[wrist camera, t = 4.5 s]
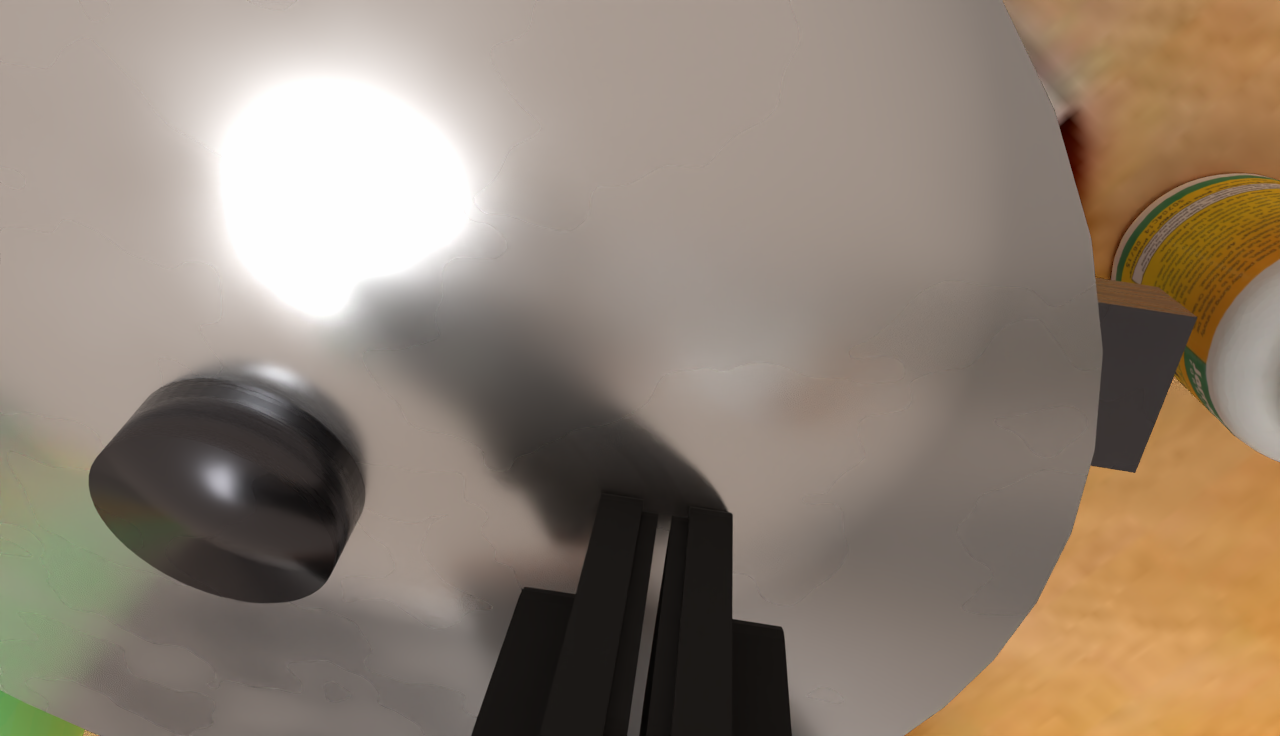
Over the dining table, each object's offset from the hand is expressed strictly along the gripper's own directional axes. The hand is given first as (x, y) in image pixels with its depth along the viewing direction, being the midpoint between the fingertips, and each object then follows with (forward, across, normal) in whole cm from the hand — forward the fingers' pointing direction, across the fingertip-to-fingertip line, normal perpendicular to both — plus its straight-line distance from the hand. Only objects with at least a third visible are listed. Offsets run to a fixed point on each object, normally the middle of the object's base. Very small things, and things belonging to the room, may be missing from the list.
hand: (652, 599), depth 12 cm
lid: (+2, +5, -1) cm, 6 cm away
